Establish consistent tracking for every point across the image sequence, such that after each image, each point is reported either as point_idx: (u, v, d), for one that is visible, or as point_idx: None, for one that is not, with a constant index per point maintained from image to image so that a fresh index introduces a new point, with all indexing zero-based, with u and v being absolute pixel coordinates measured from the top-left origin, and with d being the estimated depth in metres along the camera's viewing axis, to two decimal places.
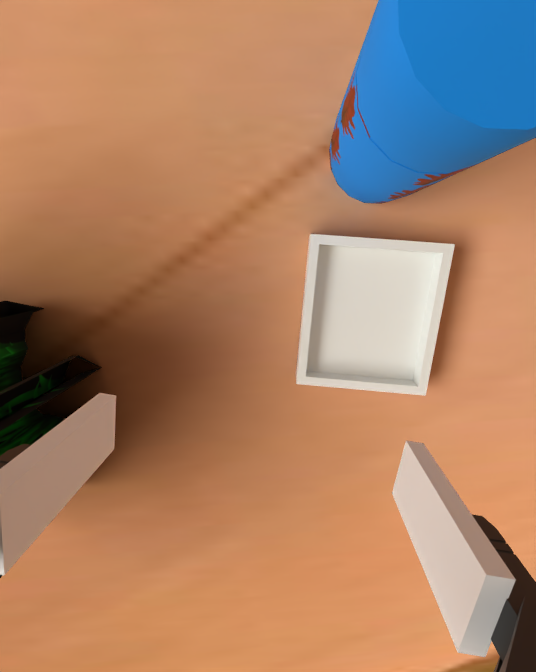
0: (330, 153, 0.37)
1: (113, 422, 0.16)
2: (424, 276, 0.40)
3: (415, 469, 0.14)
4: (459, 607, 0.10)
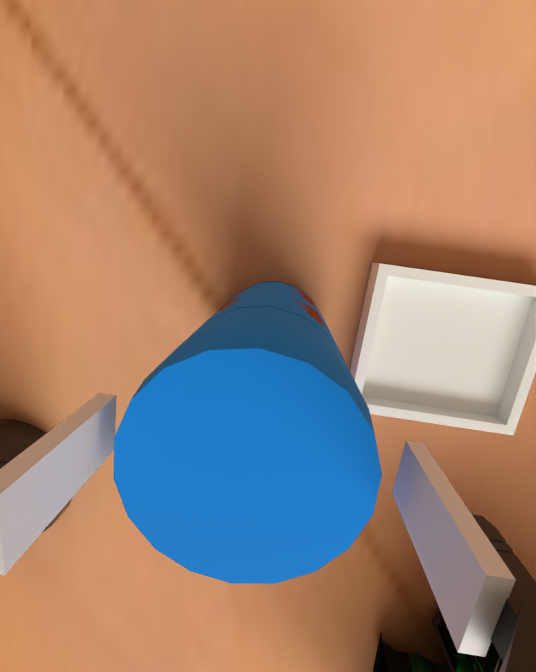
0: None
1: (113, 422, 0.16)
2: (407, 285, 0.35)
3: (415, 468, 0.14)
4: (459, 607, 0.10)
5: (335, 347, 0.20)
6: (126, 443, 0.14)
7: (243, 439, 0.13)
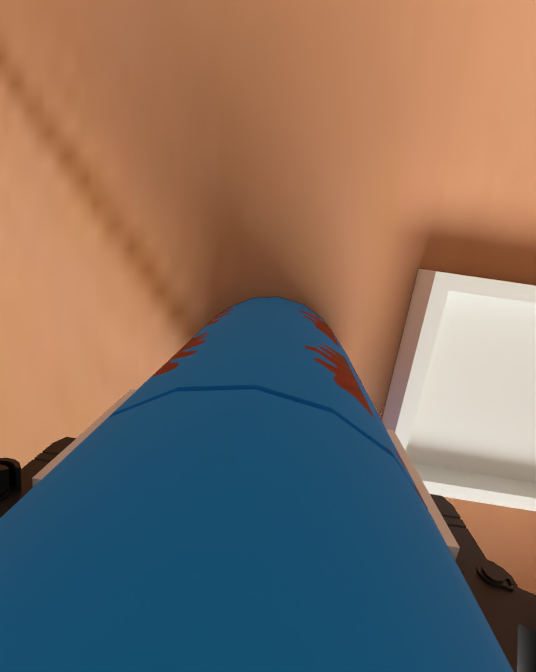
0: None
1: None
2: (472, 304, 0.23)
3: None
4: None
5: (416, 495, 0.08)
6: None
7: None
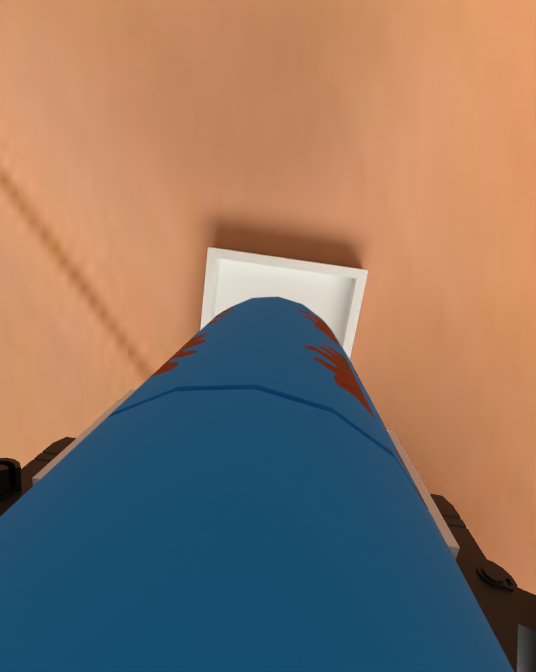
0: None
1: None
2: (242, 267, 0.40)
3: None
4: None
5: (416, 495, 0.08)
6: None
7: None
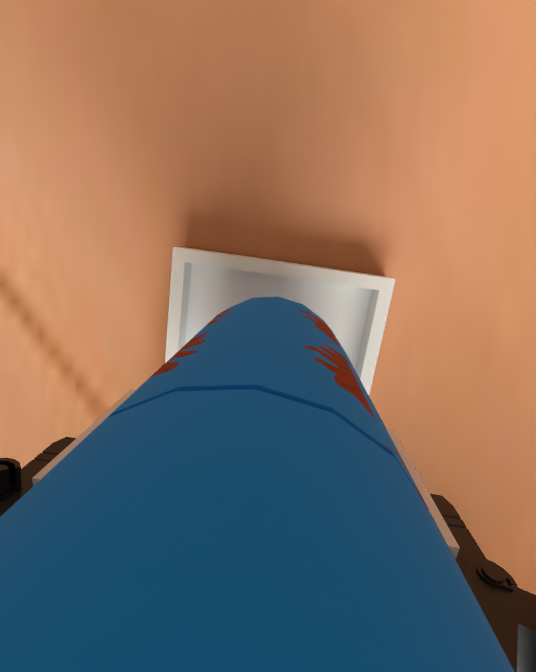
0: None
1: None
2: (222, 275, 0.29)
3: None
4: None
5: (416, 495, 0.08)
6: None
7: None
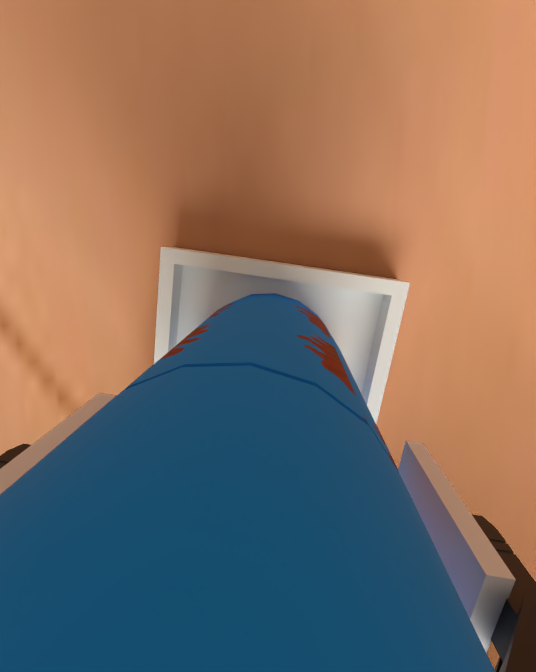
0: None
1: None
2: (216, 277, 0.26)
3: (415, 468, 0.14)
4: None
5: (385, 455, 0.09)
6: None
7: None
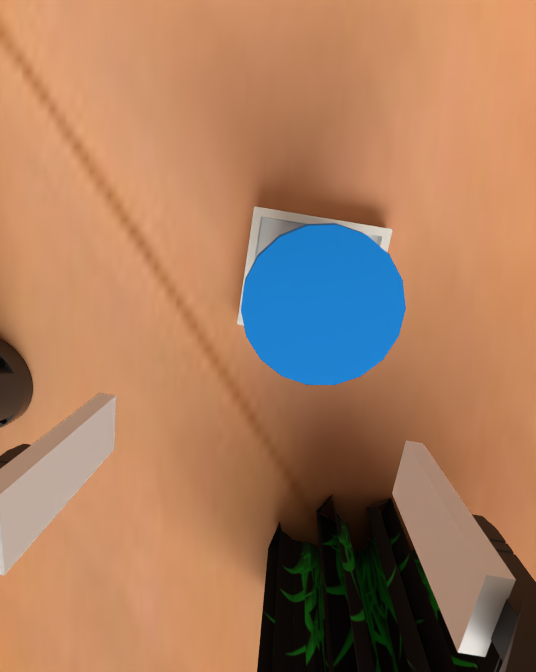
0: None
1: (113, 422, 0.16)
2: (281, 226, 0.46)
3: (415, 468, 0.14)
4: (459, 607, 0.10)
5: None
6: (251, 286, 0.23)
7: (323, 284, 0.22)
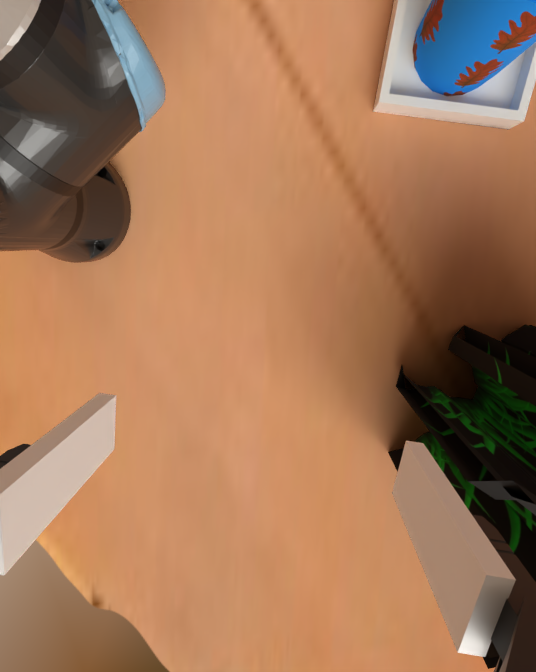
0: (457, 91, 0.42)
1: (113, 422, 0.16)
2: None
3: (415, 469, 0.14)
4: (459, 607, 0.10)
5: None
6: None
7: None
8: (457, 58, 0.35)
